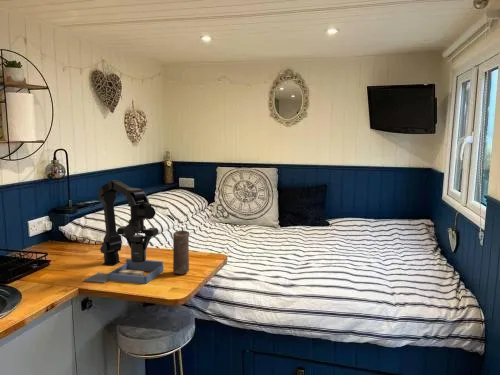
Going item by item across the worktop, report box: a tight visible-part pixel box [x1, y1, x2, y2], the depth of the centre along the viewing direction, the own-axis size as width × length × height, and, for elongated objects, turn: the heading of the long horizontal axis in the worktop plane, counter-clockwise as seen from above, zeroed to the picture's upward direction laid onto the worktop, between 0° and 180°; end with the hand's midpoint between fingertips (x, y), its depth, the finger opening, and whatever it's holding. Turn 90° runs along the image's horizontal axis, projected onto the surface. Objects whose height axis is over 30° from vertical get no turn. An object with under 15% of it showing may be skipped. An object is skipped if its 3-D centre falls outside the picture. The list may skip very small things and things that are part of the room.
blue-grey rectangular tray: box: [108, 258, 164, 285], centre depth 177 cm, size 19×16×5 cm
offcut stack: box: [119, 269, 145, 276], centre depth 172 cm, size 13×3×4 cm, turn 76°
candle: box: [172, 230, 190, 275], centre depth 179 cm, size 8×7×20 cm
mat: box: [83, 272, 110, 284], centre depth 174 cm, size 10×10×1 cm
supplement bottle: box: [130, 234, 147, 263], centre depth 178 cm, size 7×7×12 cm
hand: (138, 249), depth 178 cm, fingers closed on supplement bottle, 7 cm apart
